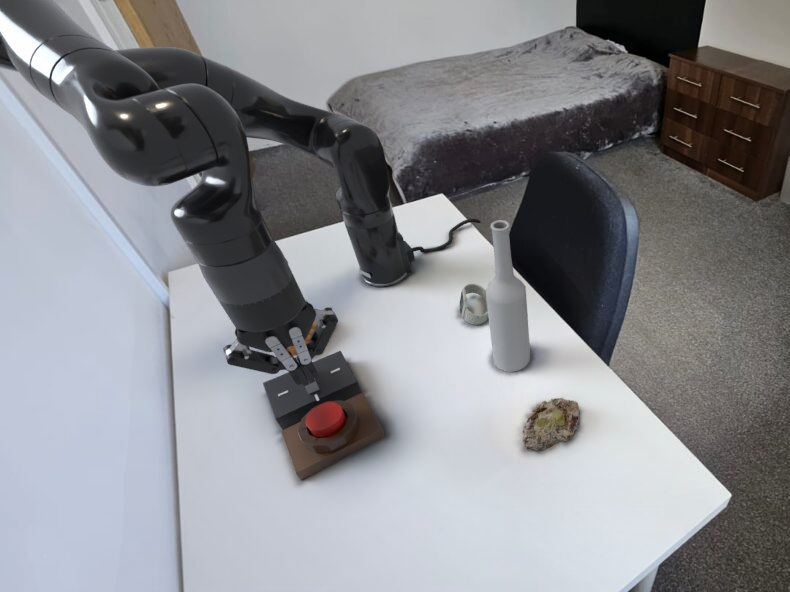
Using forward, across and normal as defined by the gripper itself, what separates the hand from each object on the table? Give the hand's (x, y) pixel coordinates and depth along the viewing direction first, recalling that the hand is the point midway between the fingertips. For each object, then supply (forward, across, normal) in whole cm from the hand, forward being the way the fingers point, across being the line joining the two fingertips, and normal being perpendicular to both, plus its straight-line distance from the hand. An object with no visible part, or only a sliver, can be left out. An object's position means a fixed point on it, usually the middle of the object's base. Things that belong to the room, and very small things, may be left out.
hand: (308, 380), depth 64 cm
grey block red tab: (+10, 0, +10) cm, 14 cm away
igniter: (+13, 0, 0) cm, 13 cm away
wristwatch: (+13, +31, +12) cm, 35 cm away
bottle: (+13, +30, -3) cm, 32 cm away
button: (+9, 0, -1) cm, 9 cm away
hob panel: (+13, 0, +10) cm, 16 cm away
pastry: (+13, +3, +24) cm, 27 cm away
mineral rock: (+13, +26, -19) cm, 35 cm away
